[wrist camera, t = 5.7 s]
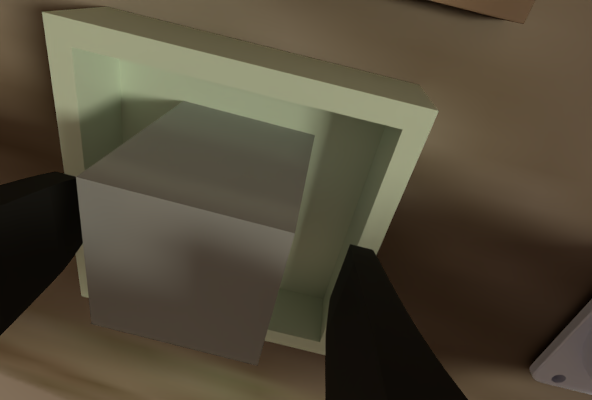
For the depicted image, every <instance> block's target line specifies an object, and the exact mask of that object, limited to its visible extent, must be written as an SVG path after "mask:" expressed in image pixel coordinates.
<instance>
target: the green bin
mask: <svg viewBox="0 0 592 400" xmlns="http://www.w3.org/2000/svg"><path fill="white" fill-rule="evenodd" d="M42 16H43V24H44V31H45V38H46V45H47V52H48V60H49V67H50V74H51V81H52V88H53V96H54V103H55V110H56V117H57V124H58V131H59V139H60V146H61V153H62V160H63V167H64V174H67V175H71V176H75V177H77V176H78V175H79V174H81V173H82V172H84V171H85V170H86V169H88V168H89V167H91V166H92V165H94V164H95V163H96V162H98V161H99V160H101V159H102V158H103V157H105V156H106V155H108V154H109V153H111V152H112V151H113V150H115V149H116V148H118V147H119V146H120V145H122V144H123V143H125V142H126V141H128V140H129V139H130V138H132V137H133V136H135V135H136V134H137V133H139V132H140V131H142V130H143V129H145V128H146V127H147V126H149V125H150V124H152V123H153V122H154V121H156V120H157V119H159V118H160V117H162V116H163V115H164V114H166V113H167V112H169V111H170V110H171V109H173V108H174V107H176V106H177V105H179V104H180V103H181V102H183V101H186V102H190V103H194V104H198V105H202V106H206V107H209V108H213V109H217V110H221V111H225V112H228V113H232V114H236V115H240V116H244V117H248V118H251V119H255V120H259V121H263V122H267V123H270V124H274V125H278V126H282V127H286V128H290V129H293V130H297V131H301V132H305V133H309V134H312V135H315V138H314V142H313V147H312V152H311V157H310V162H309V167H308V172H307V177H306V182H305V187H304V191H303V196H302V201H301V206H300V211H299V216H298V221H297V226H296V231H295V235H294V238H293V242H292V245H291V249H290V253H289V256H288V260H287V263H286V267H285V270H284V274H283V277H282V281H281V284H280V288H279V291H278V295H277V298H276V302H275V305H274V309H273V313H272V316H271V320H270V323H269V327H268V330H267V334H266V337H265V341H268V342H272V343H276V344H281V345H285V346H289V347H293V348H297V349H301V350H305V351H309V352H313V353H318V354H322V355H325V341H326V326H327V317H328V308H329V300H330V297H331V294H332V291H333V289H334V286H335V283H336V281H337V278H338V275H339V273H340V270H341V267H342V264H343V262H344V259H345V256H346V254H347V251H348V248H349V246H350V244H352V245H356V246H360V247H364V248H368V249H372V250H373V251H374V252H375V254H376V255H377V253H378V250H379V248H380V246H381V244H382V241H383V239H384V237H385V234H386V232H387V230H388V227H389V225H390V223H391V220H392V218H393V216H394V213H395V211H396V209H397V206H398V204H399V202H400V200H401V197H402V195H403V193H404V190H405V188H406V186H407V183H408V181H409V179H410V176H411V174H412V172H413V169H414V167H415V165H416V162H417V160H418V158H419V156H420V153H421V151H422V149H423V146H424V144H425V142H426V139H427V137H428V135H429V132H430V130H431V128H432V125H433V123H434V121H435V118H436V116H437V114H438V109H437V108H436V107H435V105H434V104H433V103H432V101H431V100H430V99H429V97H428V96H427V95H426V93H425V92H424V91H423V89H422V88H421V87H420V85H418V84H414V83H410V82H406V81H402V80H398V79H394V78H390V77H386V76H382V75H378V74H374V73H370V72H366V71H362V70H358V69H354V68H350V67H346V66H342V65H338V64H334V63H330V62H326V61H322V60H318V59H314V58H310V57H306V56H302V55H298V54H294V53H290V52H286V51H282V50H278V49H274V48H270V47H266V46H262V45H258V44H254V43H250V42H246V41H242V40H238V39H234V38H230V37H226V36H222V35H218V34H214V33H210V32H206V31H202V30H198V29H194V28H190V27H186V26H182V25H178V24H174V23H170V22H166V21H162V20H158V19H154V18H150V17H146V16H142V15H138V14H134V13H130V12H126V11H122V10H118V9H114V8H110V7H94V8H82V9H70V10H57V11H45V12H42ZM76 261H77V268H78V275H79V283H80V290H81V296H83V297H87V298H89V296H88V286H87V277H86V267H85V258H84V248H83V244H82V245H81V247H80V248H79V250H78V251H77V253H76Z"/></svg>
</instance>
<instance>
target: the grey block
mask: <svg viewBox="0 0 592 400" xmlns="http://www.w3.org/2000/svg"><path fill="white" fill-rule="evenodd" d="M314 138H315V135H312V134H309V133H305V132H301V131H297V130H293V129H290V128H286V127H282V126H278V125H274V124H270V123H267V122H263V121H259V120H255V119H251V118H248V117H244V116H240V115H236V114H232V113H228V112H225V111H221V110H217V109H213V108H209V107H206V106H202V105H198V104H194V103H190V102H186V101H183V102H181V103H180V104H179V105H177V106H176V107H174V108H173V109H171V110H170V111H169V112H167V113H166V114H164V115H163V116H162V117H160V118H159V119H157V120H156V121H154V122H153V123H152V124H150V125H149V126H147V127H146V128H145V129H143V130H142V131H140V132H139V133H137V134H136V135H135V136H133V137H132V138H130V139H129V140H128V141H126V142H125V143H123V144H122V145H120V146H119V147H118V148H116V149H115V150H113V151H112V152H111V153H109V154H108V155H106V156H105V157H103V158H102V159H101V160H99V161H98V162H96V163H95V164H94V165H92V166H91V167H89V168H88V169H86V170H85V171H84V172H82V173H81V174H79V175H78V176H77V177H76V183H77V192H78V201H79V211H80V220H81V230H82V239H83V248H84V258H85V267H86V277H87V286H88V296H89V305H90V314H91V324H93V325H97V326H101V327H105V328H109V329H113V330H117V331H121V332H125V333H129V334H133V335H137V336H141V337H145V338H149V339H153V340H157V341H161V342H165V343H169V344H173V345H177V346H181V347H185V348H189V349H193V350H197V351H201V352H205V353H209V354H213V355H217V356H221V357H225V358H229V359H233V360H237V361H241V362H245V363H249V364H253V365H258V362H259V358H260V355H261V351H262V348H263V344H264V341H265V337H266V334H267V330H268V327H269V323H270V320H271V316H272V313H273V309H274V305H275V302H276V298H277V295H278V291H279V288H280V284H281V281H282V277H283V274H284V270H285V267H286V263H287V260H288V256H289V253H290V249H291V245H292V242H293V238H294V235H295V231H296V226H297V221H298V216H299V211H300V206H301V201H302V196H303V191H304V187H305V182H306V177H307V172H308V167H309V162H310V157H311V152H312V147H313V142H314Z"/></svg>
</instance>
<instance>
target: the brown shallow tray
mask: <svg viewBox="0 0 592 400" xmlns="http://www.w3.org/2000/svg"><path fill="white" fill-rule="evenodd" d="M428 1H432V2H436V3H440V4H444V5H448V6H452V7H456V8H460V9H464V10H468V11H472V12H475V13H479V14H483V15H487V16H491V17H495V18H499V19H503V20H507V21H512V22H517V23H522V24H524V22H525V20H526V18H527V16H528V14H529V12H530V10H531V8H532V6H533V4H534V2H535V0H428Z"/></svg>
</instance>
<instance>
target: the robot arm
mask: <svg viewBox="0 0 592 400" xmlns="http://www.w3.org/2000/svg"><path fill="white" fill-rule="evenodd" d="M82 244H83V239H82V230H81V220H80V211H79V201H78V192H77V183H76V177H75V176H71V175H67V174H63V173H59V172H51V173H46V174H41V175H37V176H33V177H29V178H25V179H21V180H18V181H14V182H10V183H7V184H3V185H0V335H1V334H2V333H3V332H4V331H5V330H6V329H7V328H8V327H9V326H10V325H11V324H12V323H13V322H14V321H15V320H16V319H17V318H18V317H19V316H20V315H21V314H22V313H23V312H24V311H25V310H26V309H27V308H28V307H29V306H30V305H31V304H32V302H33V301H34V300H35V299H36V298H37V297H38V296H39V295H40V294H41V293H42V292H43V291H44V290H45V289H46V288H47V287H48V286H49V285H50V284H51V283H52V282H53V281H54V280H55V279H56V278H57V276H58V275H59V274H60V273H61V272H62V271H63V270H64V269H65V267H66V266H67V265H68V263H69V262H70V261H71V259H72V258H73V257H74V255H75V254H76V253H77V251H78V250H79V248H80V247H81V245H82ZM529 370H530V373H531V375H532V377H533V378H534V379H535V380H536V381H538V382H541V383H545V384H549V385H553V386H558V387H562V388H566V389H570V390H574V391H578V392H582V393H586V394H590V395H592V299H591V300H590V301H589V302H588V303H587V305H586V306H585V307H584V308H583V309H582V310H581V311H580V312H579V313H578V314H577V315H576V317H575V318H574V319H573V320H572V321H571V322H570V323H569V324H568V325H567V326H566V327H565V329H564V330H563V331H562V332H561V333H560V334H559V335H558V336H557V337H556V338H555V340H554V341H553V342H552V343H551V344H550V345H549V346H548V347H547V348H546V349H545V350H544V352H543V353H542V354H541V355H540V356H539V357H538V358H537V359H536V360H535V361H534V362H533V364H532V365H531V366H530V368H529ZM325 379H326V400H468V399H467V398H466V397H465V395H464V394H463V393H462V391H461V390H460V389H459V387H458V386H457V385H456V383H455V382H454V381H453V380H452V378H451V377H450V376H449V374H448V373H447V372H446V370H445V369H444V368H443V366H442V365H441V363H440V362H439V361H438V359H437V358H436V356H435V355H434V353H433V352H432V350H431V349H430V347H429V346H428V344H427V343H426V341H425V340H424V338H423V337H422V335H421V334H420V332H419V331H418V329H417V327H416V326H415V324H414V323H413V321H412V319H411V318H410V316H409V314H408V312H407V311H406V309H405V307H404V306H403V304H402V302H401V301H400V299H399V297H398V295H397V293H396V292H395V290H394V288H393V286H392V284H391V282H390V281H389V279H388V277H387V275H386V273H385V271H384V269H383V267H382V265H381V264H380V262H379V260H378V258H377V256H376V254H375V252H374V251H373V250H372V249H368V248H364V247H360V246H356V245H352V244H350V246H349V248H348V251H347V254H346V256H345V259H344V262H343V264H342V267H341V270H340V273H339V275H338V278H337V281H336V283H335V286H334V289H333V291H332V294H331V297H330V300H329V308H328V317H327V326H326V341H325Z"/></svg>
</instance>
